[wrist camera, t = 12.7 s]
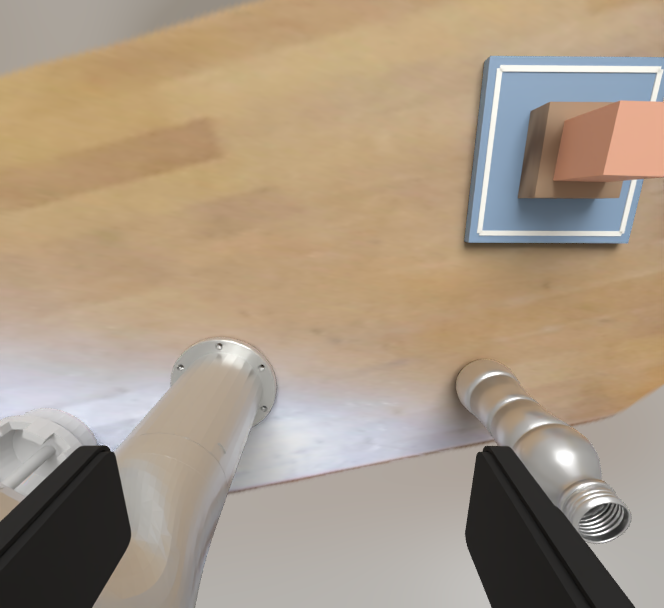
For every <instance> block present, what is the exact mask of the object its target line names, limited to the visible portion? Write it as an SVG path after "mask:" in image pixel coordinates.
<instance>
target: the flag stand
mask: <svg viewBox="0 0 664 608" xmlns="http://www.w3.org/2000/svg"><path fill="white" fill-rule="evenodd" d="M80 446H98V445H97V441H96V439H95V437H94V434H93V433H92V432H91V430H90V429H89V428H88V427H87V426H86V425H85V424H84V423H83V422H82V421H81V420H80V419H78V418H77V417H75V416H73V415H71V414H69V413H67V412H64V411H61V410H58V409H52V408H40V409H34V410H31V411H29V412H26V413H25V414H24V415H17V416H11V417H7V418H4V419H1V420H0V483H2V484H4V485H6V486H7V487H9V488H11V489H13V490H15V491H17V492H18V493H20V494H22V495H24V496H25V497H26V496H27V495H29V494H30V493H31V492H32V491H33V490H34V489H35V488H36V487H37V486H38V485H39V484H40V483H41V482H42V481H43V480H44V479H45V478H46V477H47V476H48V475H49V474H51V473H52V472H53V471H54V470H55V469H56V468H57V467H58V466H59V465H60V464H61V463H62V462H63V461H64V460H65V459H66V458H67V457H68V456H69V455H70V454H71V453H73V452H74V451H75V450H76V449H77V448H78V447H80Z"/></svg>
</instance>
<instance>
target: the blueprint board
mask: <svg viewBox="0 0 664 608" xmlns="http://www.w3.org/2000/svg"><path fill="white" fill-rule="evenodd" d="M663 99H664V57H555V56H490V57H489V58H488V59H487V60H485V62H484V71H483V80H482V88H481V97H480V106H479V115H478V124H477V133H476V142H475V151H474V160H473V168H472V177H471V186H470V195H469V204H468V213H467V222H466V231H465V240H464V241H465V242H469V243H628V241H629V237H630V233H631V229H632V225H633V220H634V216H635V212H636V208H637V204H638V200H639V196H640V192H641V188H642V184H643V180H644V179H637V180H626V181H623V184H622V188H621V192H620V197H619V198H604V199H550V198H518V192H519V185H520V179H521V172H522V165H523V159H524V152H525V145H526V139H527V132H528V125H529V119H530V112H531V111H532V110H534V109H536V108H538V107H540V106H542V105H544V104H546V103H548V102H618V101H620V100H623V101H655V102H663Z"/></svg>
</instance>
